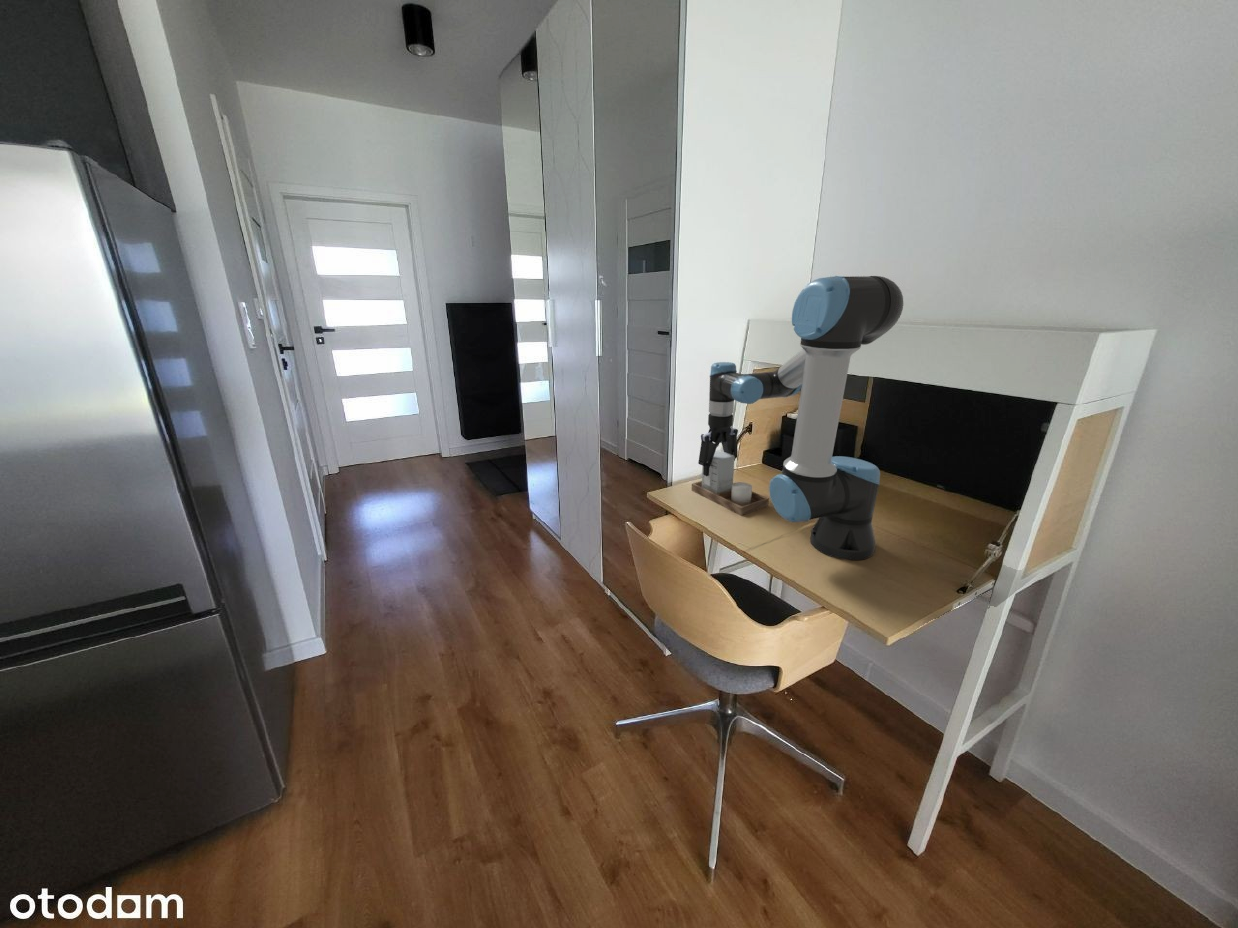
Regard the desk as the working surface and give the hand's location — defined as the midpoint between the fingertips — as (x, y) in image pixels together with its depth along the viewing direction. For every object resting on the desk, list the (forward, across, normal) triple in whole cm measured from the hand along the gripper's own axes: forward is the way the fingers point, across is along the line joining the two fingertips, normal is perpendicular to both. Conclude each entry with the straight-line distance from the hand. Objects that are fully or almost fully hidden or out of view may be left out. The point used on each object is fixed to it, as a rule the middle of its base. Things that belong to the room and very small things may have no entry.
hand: (717, 481), depth 149 cm
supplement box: (+3, 0, 0) cm, 3 cm away
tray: (+4, 0, +5) cm, 7 cm away
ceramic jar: (+4, 0, +11) cm, 11 cm away
